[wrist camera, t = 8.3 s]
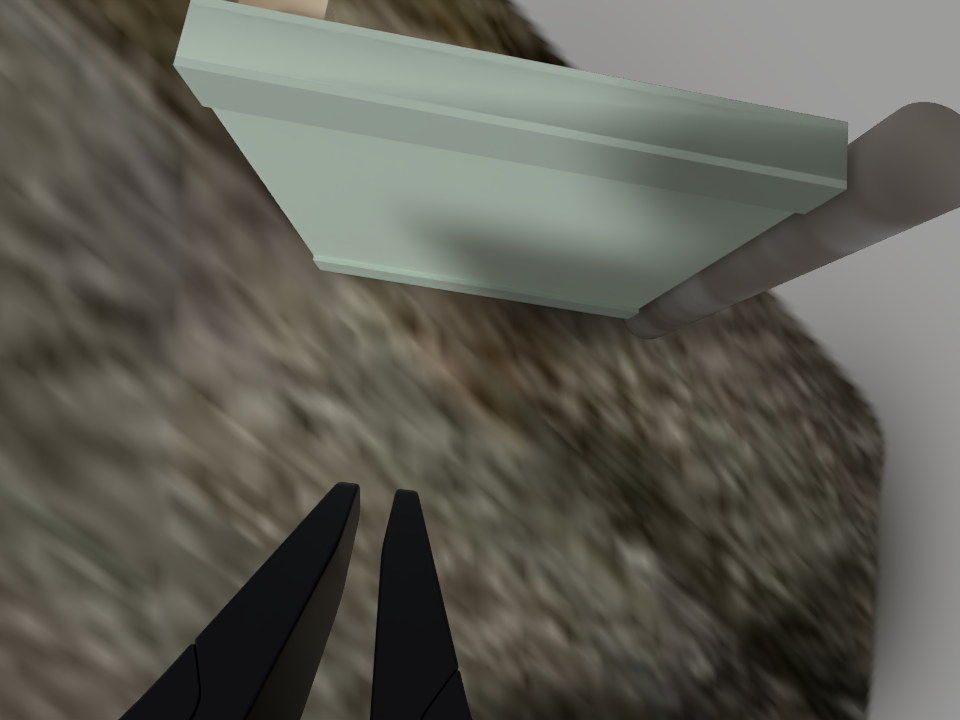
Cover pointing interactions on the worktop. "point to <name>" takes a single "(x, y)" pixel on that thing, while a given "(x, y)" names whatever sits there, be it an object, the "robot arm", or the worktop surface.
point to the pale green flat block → (498, 160)
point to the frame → (822, 231)
